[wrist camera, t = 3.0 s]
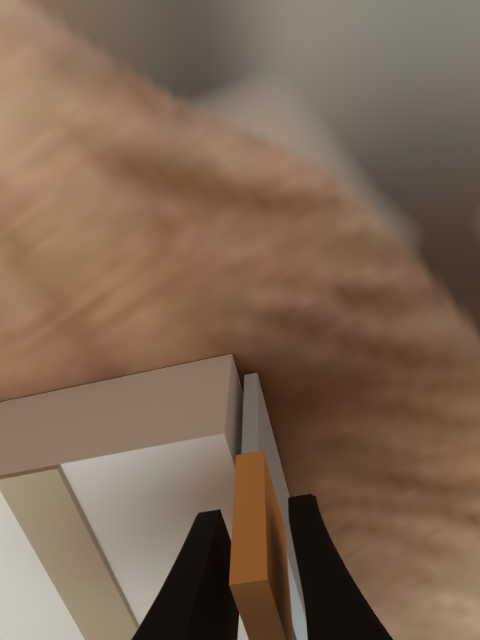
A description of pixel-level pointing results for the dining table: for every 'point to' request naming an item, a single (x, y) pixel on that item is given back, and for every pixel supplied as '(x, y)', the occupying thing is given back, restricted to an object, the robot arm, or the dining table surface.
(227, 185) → the dining table surface
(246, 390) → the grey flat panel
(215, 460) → the carton
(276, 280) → the dining table surface
